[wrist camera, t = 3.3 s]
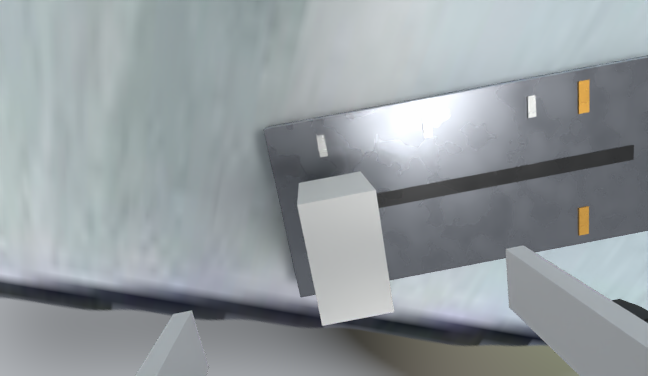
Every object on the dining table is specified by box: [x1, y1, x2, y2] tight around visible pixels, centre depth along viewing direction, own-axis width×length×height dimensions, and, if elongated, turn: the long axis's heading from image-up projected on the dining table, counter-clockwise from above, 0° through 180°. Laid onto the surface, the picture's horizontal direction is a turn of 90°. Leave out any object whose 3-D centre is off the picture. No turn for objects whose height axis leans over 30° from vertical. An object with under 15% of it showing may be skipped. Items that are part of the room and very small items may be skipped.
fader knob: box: [297, 171, 394, 326], centre depth 23 cm, size 7×4×9 cm, turn 10°
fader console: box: [264, 56, 648, 297], centre depth 29 cm, size 14×32×3 cm, turn 100°
